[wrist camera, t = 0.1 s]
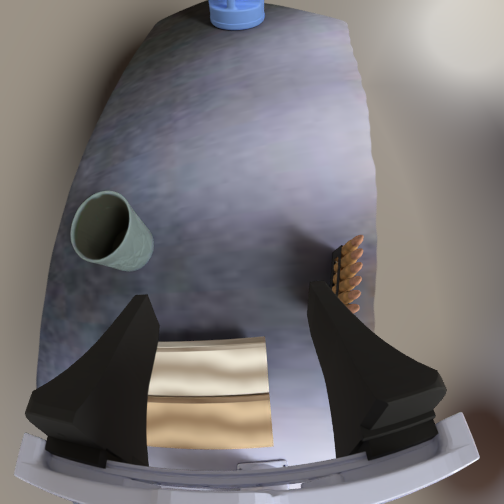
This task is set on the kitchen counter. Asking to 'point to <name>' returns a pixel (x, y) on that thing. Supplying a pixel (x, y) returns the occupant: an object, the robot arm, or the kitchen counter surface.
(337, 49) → the kitchen counter surface
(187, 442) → the laid plank
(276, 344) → the kitchen counter surface
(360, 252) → the ammunition clip
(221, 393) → the plank
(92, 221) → the green cup
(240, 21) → the water jug
